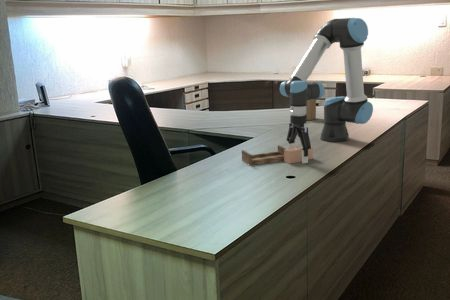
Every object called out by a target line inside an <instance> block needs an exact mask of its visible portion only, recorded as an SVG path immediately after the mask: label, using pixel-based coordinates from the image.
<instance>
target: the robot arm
mask: <svg viewBox="0 0 450 300" xmlns="http://www.w3.org/2000/svg"><path fill="white" fill-rule="evenodd" d="M368 36H369V27H368V25H367V23H366V21H365V20H364V19H362V18H359V17H345V18H334V19H330V20H329V21H327V22H325V24H323V25H322V26H321V27H320V28H319V29H318V31H317V32H315V34H314V36H313V41H312V43H311V45H310V46H309V48H308V50H307V51H306V52H305V53H304V55H303V57H302V58H301V61H300V62H299V64H298V65H297V66H296V68H295V70H294V71H293V72H292V75H291V76H290V77H289V79H288V80H285V81H282V82H281V83H280V85H279V93H280V95H282V96H283V97H287V98H290V106H289V107H290V108H289V110H290V111H289V112H290V113H289V114H290V116H289V117H290V118H289V119H290V120H289V121H290V123H289V124H288V125H289V126H288V131H287V135H286V142H288V149H291V148H296V144H295V143H296V139H297V137H298V138H299V140H300V143H301V146H302V147H303V149H302V161H301V164H308V163H309V160H308V149H311V145H312V144H311V139H310V136H309V127H305V124H307V122H308V120H307V116H306V114H307V100H313V99H316V100H317V99H320V98H322V97H324V95H325V93H326V92H325V89H326V88H325V86H324V84H323V83H321V82H307V80H308V79H309V77H310V76H311V74H312V72H313V71H314V69H315V67H316V66H317V64H318V63H319V61H320V60H321V58H322V57H323V55H324V53H325V52H326V50H327V49H330V47H331V46H332V45H333V44H334V43H339V48H340V49H341V50H342V51H343V61H344V62H343V63H344V77H345V86H346V89H345V90H346V96H343V95H342V96H333V97H327V98H325V100H324V105H323V110H324V111H323V127H322V129H321V132H320V140H322V141H325V142H333V143H334V142H335V143H337V142H346V141H348V140H349V139H350V138H349V131H348V128H347V124H346V123H349V124H350V123H352V124H356V125H365V124H366V123H368V122H369V121H370V120H371V117H372V115H373V113H374V105H373V104H372V102H370V101H368V99H369V98H368V96H367V95H366V94H365V90H364V89H365V88H364V86H365V85H364V75H363V73H364V71H363V60H362V59H363V58H362V47H364V45H365V43H364V42H366V41H367V39H368Z"/></svg>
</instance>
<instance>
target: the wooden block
mask: <svg viewBox="0 0 450 300" xmlns="http://www.w3.org/2000/svg"><path fill="white" fill-rule="evenodd" d="M316 113H317V99H313V100H307V114H306V116H307V121H309V120H310V121H312V120H314V119H316V118H317V116H316V115H317V114H316Z"/></svg>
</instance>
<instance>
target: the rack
mask: <svg viewBox="0 0 450 300" xmlns="http://www.w3.org/2000/svg"><path fill="white" fill-rule="evenodd" d="M286 149H287V147H284V146H282V145H277V151H271V152H263V153H255V154H251V153H250V152H248V151H247V150H244V149H241V161H242V162H244V163H245V164H247V165H248V164H249V166H250V165H251V166H256V164H258V165H264V164H270V163H271V164H272V163H278V162H284V150H286Z"/></svg>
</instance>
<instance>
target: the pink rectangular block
mask: <svg viewBox="0 0 450 300" xmlns="http://www.w3.org/2000/svg"><path fill="white" fill-rule="evenodd" d="M302 149H303V147H302V145H301V146H297V147H296V146H295V148H291V149H289V148H286V150H284V161H283V162H284V163H286V164H294V163H299V162H302ZM312 159H313V160H314V147H313V146H311V149H308V161H309V160H312Z"/></svg>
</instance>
